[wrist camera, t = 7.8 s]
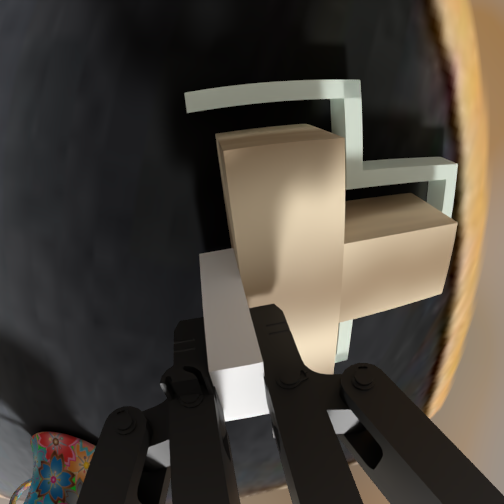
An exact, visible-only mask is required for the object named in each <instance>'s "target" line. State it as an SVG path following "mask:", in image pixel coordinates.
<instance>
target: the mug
mask: <svg viewBox="0 0 504 504" xmlns="http://www.w3.org/2000/svg"><path fill="white" fill-rule="evenodd" d="M31 446H32V451H33V459H34V468H33V477H32V478H31V479H29V480H27V481H26V482H24V483H23V484H22V485H20V486H19V487H18V488H17V489H16V491H15V492H14V493H13V495H12V497H11V499H10V503H9V504H16V501H17V499H18V498H19V496H20V495H21V494H22V492H23V491H24V490H25V489H27V488H28V487H29V486H30V489H29V492H28V495H27V497H26V500H25V502H24V504H76V503H77V500H78V497H79V494H80V491H81V488H82V485H83V482H84V479H85V476H86V473H87V470H88V467H89V465H90V462H91V459H92V456H93V453H94V451H95V448H96V446H95V445H93V444H91V443H89V442H87V441H84V440H82V439H79V438H77V437H74V436H70V435H67V434H63V433H58V432H38V433H36V434H34V435H33V436H32V437H31Z"/></svg>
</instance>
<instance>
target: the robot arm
mask: <svg viewBox="0 0 504 504" xmlns="http://www.w3.org/2000/svg"><path fill="white" fill-rule="evenodd" d="M199 256H200V273H201V287H202V301H203V314H204V317H201V318H195V319H189V320H183V321H180V322H179V323H178V325H177V327H176V329H175V331H174V366H172V367H171V368H169V369H168V370H167V371H166V372H165V373H164V374H163V376H162V378H161V381H160V385H161V387H162V389H163V391H164V393H165V395H166V397H167V399H166V400H165V401H164V402H163V403H161V404H159V405H157V406H155V407H153V408H150V409H147V410H145V411H141V410H139V409H138V408H135V407H132V406H127V407H121V408H118V409H116V410H115V411H113V412H112V413H111V414H110V415H109V416H108V418H107V420H106V421H105V424H104V427H103V429H102V432H101V435H100V437H99V440H98V443H97V445H96V448H95V451H94V453H93V456H92V459H91V462H90V465H89V467H88V470H87V473H86V476H85V479H84V482H83V485H82V488H81V491H80V494H79V497H78V500H77V503H76V504H165V501H166V497H167V492H168V487H169V483H170V478H171V488H172V502H173V504H240V498H239V493H238V488H237V482H236V477H235V471H234V465H233V460H232V454H231V448H230V442H229V436H228V433H227V430H226V426H225V421H231V420H237V419H243V418H248V417H254V416H259V415H264V414H269V413H270V417H271V421H272V429H273V437H274V438H275V440H276V444H277V448H278V451H279V455H280V459H281V463H282V467H283V470H284V474H285V478H286V481H287V485H288V489H289V493H290V496H291V500H292V503H293V504H363V502H362V499H361V497H360V494H359V491H358V489H357V487H356V484H355V481H354V479H353V476H352V473H351V471H350V468H349V466H348V463H347V461H346V458H345V455H344V453H343V450H342V448H341V445H340V443H339V440H338V438H337V436H338V437H339V439H340V440H341V441H342V443H343V444H344V445H345V446H346V448H347V449H348V450H349V452H350V453H351V454H352V456H353V457H354V458H355V459H356V461H357V462H358V463H359V464H360V466H361V467H362V468H363V470H364V471H365V472H366V474H367V475H368V476H369V477H370V479H371V480H372V481H373V482H374V484H375V485H376V486H377V487H378V489H379V490H380V491H381V492H382V494H383V495H384V496H385V497H386V499H387V500H388V501H389V502H390V504H504V496H503V495H502V494H501V493H500V491H499V490H498V489H497V488H496V487H495V486H493V484H492V483H491V482H490V481H489V480H488V479H487V478H486V477H485V476H484V475H483V474H482V473H481V472H480V471H479V470H478V469H477V468H476V467H475V465H474V464H473V463H471V461H470V460H469V459H468V458H467V457H466V456H465V455H464V454H463V453H462V452H461V451H460V450H459V449H458V448H457V447H456V446H455V445H454V444H453V443H452V442H451V441H450V440H449V439H448V438H447V437H446V436H445V435H444V433H442V432H441V431H440V429H439V428H438V427H437V426H436V425H435V424H434V423H433V422H432V421H431V420H430V419H429V418H428V417H427V416H426V415H425V414H424V413H423V412H422V411H421V410H420V409H419V408H418V407H417V406H416V405H415V404H414V403H413V402H412V401H411V400H410V399H409V398H408V397H407V396H406V395H405V394H404V393H403V392H402V391H401V390H400V389H399V387H398V386H397V385H396V384H395V383H394V382H393V381H392V380H391V379H390V378H389V377H388V376H387V375H386V374H385V373H384V372H383V371H382V370H381V369H379V368H378V367H376V366H375V365H372V364H368V363H357V364H354V365H351V366H350V367H348V368H347V369H346V370H345V371H344V372H343V374H320V373H317V372H314V371H312V370H311V369H309V368H308V367H307V366H306V365H305V364H304V363H303V361H302V359H301V356H300V354H299V351H298V349H297V346H296V343H295V341H294V338H293V336H292V333H291V331H290V328H289V326H288V323H287V321H286V318H285V315H284V313H283V311H282V310H281V309H280V308H279V307H277V306H276V305H275V304H274V303H273V304H268V305H263V306H258V307H253V308H249V307H248V303H247V300H246V296H245V292H244V288H243V284H242V280H241V277H240V273H239V269H238V265H237V261H236V257H235V253H234V249H233V248H231V249H225V250H219V251H213V252H208V253H202V254H199Z"/></svg>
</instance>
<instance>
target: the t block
mask: <svg viewBox="0 0 504 504" xmlns="http://www.w3.org/2000/svg"><path fill="white" fill-rule="evenodd" d="M215 136H216V143H217V151H218V158H219V165H220V172H221V179H222V186H223V193H224V200H225V207H226V214H227V221H228V227H229V234H230V241H231V247H232V248H233V249H234V253H235V257H236V261H237V265H238V269H239V273H240V277H241V280H242V284H243V288H244V292H245V296H246V300H247V303H248V307H249V308H253V307H258V306H263V305H268V304H273V303H274V304H275V305H276V306H277V307H279V308H280V309H281V310H282V311H283V313H284V315H285V318H286V321H287V323H288V326H289V328H290V331H291V333H292V336H293V338H294V341H295V343H296V346H297V349H298V351H299V354H300V356H301V359H302V361H303V363H304V364H305V365H306V366H307V367H308V368H309V369H311V370H312V371H314V372H317V373H320V374H333V372H334V364H335V355H336V346H337V336H338V326H339V323H340V322H344V321H348V320H352V319H356V318H360V317H363V316H367V315H371V314H375V313H378V312H382V311H385V310H389V309H392V308H396V307H399V306H403V305H406V304H409V303H413V302H416V301H419V300H423V299H426V298H429V297H432V296H435V295H438V294H441V293H442V290H443V287H444V283H445V279H446V275H447V271H448V267H449V263H450V258H451V254H452V249H453V244H454V239H455V234H456V229H457V222H456V221H454V220H453V219H451V218H450V217H448V216H447V215H445V214H444V213H442V212H441V211H439V210H438V209H436V208H435V207H433V206H431V205H430V204H428V203H427V202H425V201H424V200H422V199H420V198H419V197H417V196H416V195H414V194H412V193H405V194H396V195H388V196H380V197H372V198H365V199H357V200H349V201H345V138H344V137H341V136H338V135H336V134H333V133H331V132H328V131H325V130H323V129H320V128H317V127H314V126H312V125H309V124H293V125H282V126H272V127H263V128H254V129H246V130H238V131H231V132H224V133H217V134H215Z"/></svg>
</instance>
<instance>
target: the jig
mask: <svg viewBox="0 0 504 504" xmlns="http://www.w3.org/2000/svg"><path fill="white" fill-rule="evenodd" d="M184 95H185V102H186V109H187V113H191V112H197V111H203V110H209V109H216V108H223V107H231V106H239V105H247V104H257V103H267V102H278V101H292V100H309V99H330V107H331V126H332V133H333V134H336V135H338V136H341V137H344V138H345V189H346V190H348V189H356V188H365V187H373V186H382V185H392V184H401V183H411V182H421V181H429V182H428V192H427V203H428V204H430V205H431V206H433V207H435V208H436V209H438V210H439V211H441V212H442V213H444V214H445V215H447V216H448V217H450V218H451V215H452V209H453V202H454V194H455V186H456V177H457V167H458V164H456V163H454V162H452V161H449V160H447V159H445V158H442V157H420V158H401V159H385V160H371V161H363V134H362V103H361V84H360V80H295V81H278V82H264V83H253V84H243V85H234V86H226V87H218V88H211V89H204V90H198V91H191V92H186V93H184ZM352 321H353V319H352V320H348V321H344V322H340V323H339V326H338V336H337V346H336V355H335V363H336V362H340V361H344V360H347V358H348V351H349V344H350V337H351V329H352Z"/></svg>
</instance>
